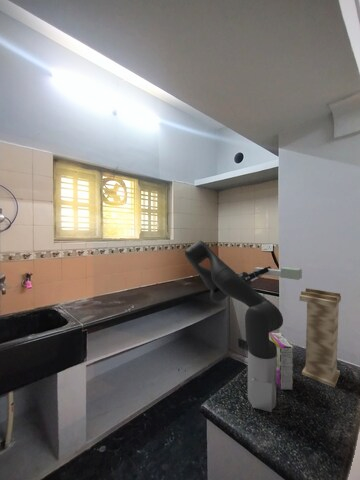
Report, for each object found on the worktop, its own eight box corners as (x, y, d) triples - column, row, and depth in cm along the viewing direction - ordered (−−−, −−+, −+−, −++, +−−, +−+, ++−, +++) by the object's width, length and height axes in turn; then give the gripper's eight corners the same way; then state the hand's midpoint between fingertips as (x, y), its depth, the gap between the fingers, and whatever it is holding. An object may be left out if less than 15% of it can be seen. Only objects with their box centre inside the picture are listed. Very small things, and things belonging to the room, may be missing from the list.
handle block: (301, 277, 95) (301, 268, 95) (298, 279, 92) (298, 270, 91) (258, 271, 109) (258, 263, 109) (253, 273, 105) (253, 265, 105)
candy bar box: (268, 370, 92) (268, 332, 91) (280, 370, 92) (280, 332, 91) (279, 390, 81) (280, 346, 80) (293, 390, 81) (294, 346, 80)
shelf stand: (339, 373, 90) (342, 292, 88) (334, 387, 82) (337, 299, 80) (305, 360, 98) (307, 287, 97) (297, 372, 90) (299, 292, 89)
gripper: (229, 277, 109) (258, 263, 98) (243, 273, 119) (271, 259, 108) (236, 291, 107) (267, 278, 96) (249, 286, 117) (279, 273, 106)
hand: (269, 268), depth 102 cm, fingers closed on handle block, 3 cm apart
